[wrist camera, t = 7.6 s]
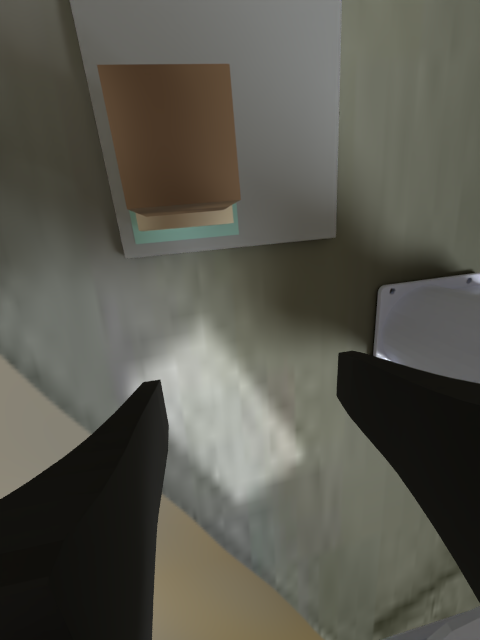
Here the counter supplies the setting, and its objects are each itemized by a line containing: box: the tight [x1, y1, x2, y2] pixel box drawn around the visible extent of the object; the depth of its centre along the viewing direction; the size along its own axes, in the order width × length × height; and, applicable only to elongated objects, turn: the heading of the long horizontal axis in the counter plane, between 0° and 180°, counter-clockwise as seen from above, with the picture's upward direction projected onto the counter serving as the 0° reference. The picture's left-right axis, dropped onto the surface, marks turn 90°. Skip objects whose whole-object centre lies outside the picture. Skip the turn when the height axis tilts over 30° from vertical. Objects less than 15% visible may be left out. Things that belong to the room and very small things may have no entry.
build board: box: [70, 0, 342, 259], centre depth 16 cm, size 14×14×1 cm
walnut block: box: [97, 64, 241, 217], centre depth 11 cm, size 4×4×5 cm
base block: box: [136, 205, 234, 231], centre depth 15 cm, size 5×5×2 cm
